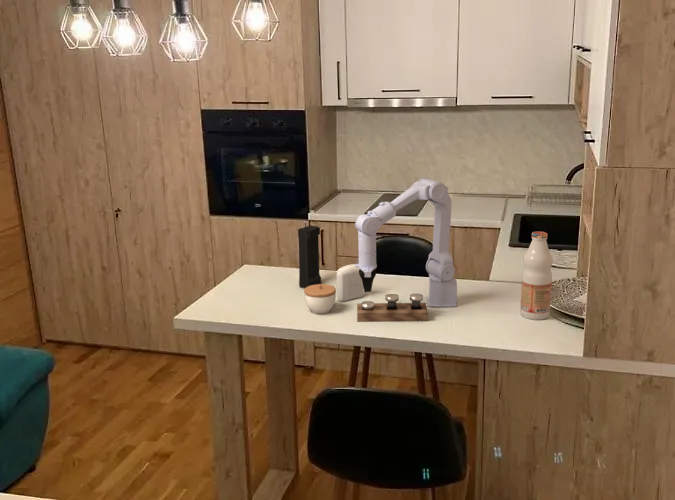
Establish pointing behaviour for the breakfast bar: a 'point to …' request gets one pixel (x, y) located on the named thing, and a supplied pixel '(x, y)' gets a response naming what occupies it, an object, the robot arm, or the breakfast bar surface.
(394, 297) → the knob middle
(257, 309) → the breakfast bar surface
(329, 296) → the lidded jar
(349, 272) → the photo printer
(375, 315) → the bar
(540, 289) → the fruit juice
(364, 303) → the knob
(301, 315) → the breakfast bar surface
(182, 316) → the breakfast bar surface
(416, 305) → the knob
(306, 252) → the portable radio
